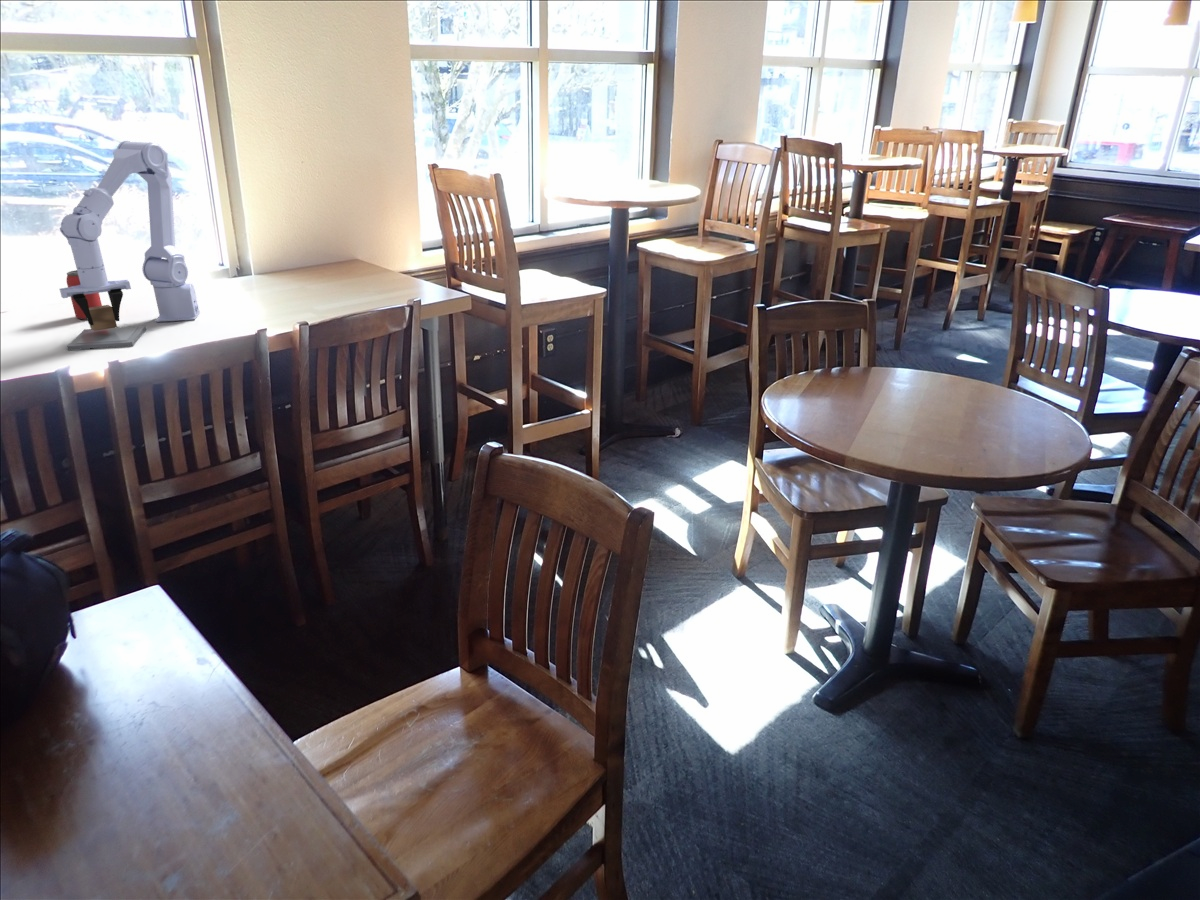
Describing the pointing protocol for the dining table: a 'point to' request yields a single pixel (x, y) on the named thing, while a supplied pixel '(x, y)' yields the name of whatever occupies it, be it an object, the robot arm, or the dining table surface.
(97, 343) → the coaster
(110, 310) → the walnut block
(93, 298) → the beer can
